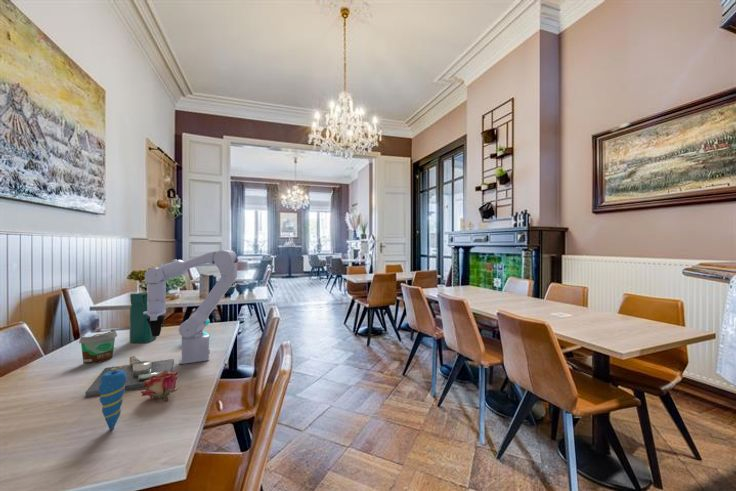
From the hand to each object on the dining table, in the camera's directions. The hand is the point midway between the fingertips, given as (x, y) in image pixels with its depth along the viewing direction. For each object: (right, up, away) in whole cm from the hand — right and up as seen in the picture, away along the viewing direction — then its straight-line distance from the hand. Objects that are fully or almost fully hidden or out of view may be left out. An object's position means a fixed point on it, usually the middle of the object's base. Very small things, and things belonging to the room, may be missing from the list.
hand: (156, 335), depth 120 cm
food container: (-20, -10, +1) cm, 23 cm away
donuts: (+2, -10, +26) cm, 27 cm away
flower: (+20, -10, -29) cm, 37 cm away
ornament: (+19, -10, -44) cm, 49 cm away
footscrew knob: (+2, -8, -13) cm, 15 cm away
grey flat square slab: (+3, -9, -15) cm, 18 cm away
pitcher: (-22, -10, +25) cm, 34 cm away
